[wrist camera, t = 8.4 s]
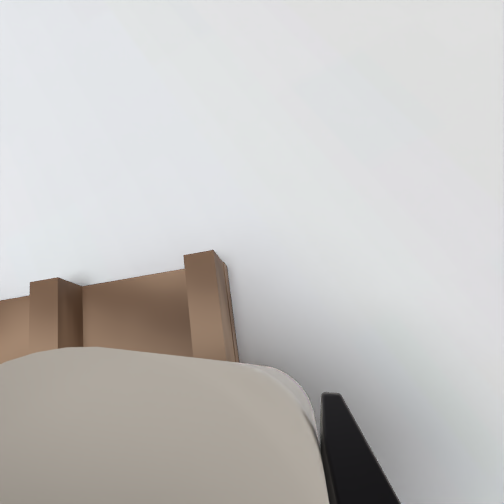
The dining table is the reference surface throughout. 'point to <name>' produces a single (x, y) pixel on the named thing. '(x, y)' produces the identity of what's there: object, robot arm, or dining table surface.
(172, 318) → the wooden compartment tray
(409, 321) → the dining table surface
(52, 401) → the rounded tapered clay block
